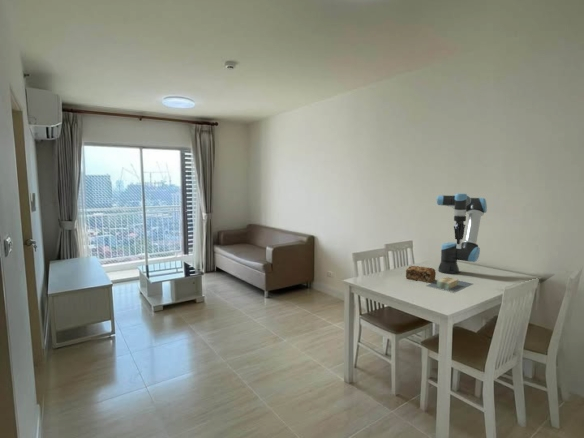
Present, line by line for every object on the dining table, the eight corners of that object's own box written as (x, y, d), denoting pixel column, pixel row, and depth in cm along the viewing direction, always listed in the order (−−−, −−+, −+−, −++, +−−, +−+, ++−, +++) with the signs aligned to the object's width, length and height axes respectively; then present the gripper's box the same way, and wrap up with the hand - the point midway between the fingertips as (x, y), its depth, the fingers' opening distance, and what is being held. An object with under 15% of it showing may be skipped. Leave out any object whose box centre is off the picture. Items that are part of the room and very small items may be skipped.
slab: (446, 282, 241) (436, 286, 232) (446, 277, 240) (436, 280, 231) (457, 285, 234) (448, 289, 226) (458, 279, 234) (448, 283, 225)
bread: (435, 281, 247) (436, 267, 246) (429, 284, 240) (429, 270, 239) (411, 276, 261) (412, 263, 260) (405, 279, 253) (405, 266, 252)
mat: (426, 286, 235) (426, 285, 235) (445, 278, 252) (445, 277, 252) (455, 293, 219) (455, 292, 219) (473, 284, 237) (473, 283, 237)
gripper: (461, 216, 230) (459, 250, 233) (469, 215, 239) (468, 247, 241) (450, 215, 236) (449, 249, 239) (458, 214, 244) (457, 246, 247)
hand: (458, 248), depth 240 cm, fingers closed
